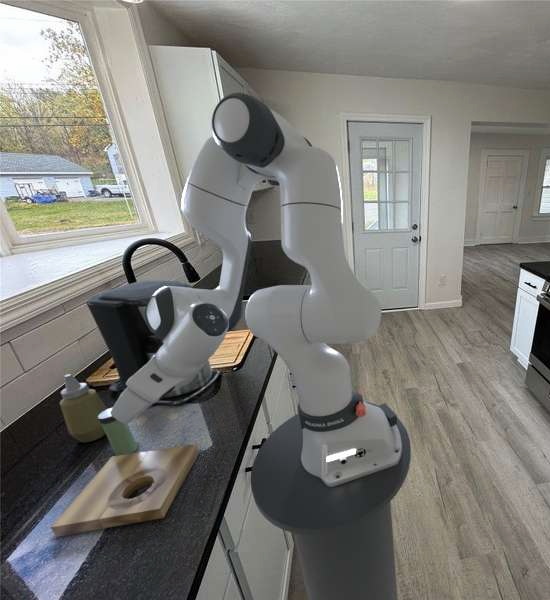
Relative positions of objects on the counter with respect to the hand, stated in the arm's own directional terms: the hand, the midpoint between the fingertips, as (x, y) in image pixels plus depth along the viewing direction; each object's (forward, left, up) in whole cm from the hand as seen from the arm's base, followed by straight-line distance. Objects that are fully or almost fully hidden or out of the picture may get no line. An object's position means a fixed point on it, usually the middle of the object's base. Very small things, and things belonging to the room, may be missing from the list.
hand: (149, 401), depth 71 cm
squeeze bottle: (+22, -9, -14) cm, 27 cm away
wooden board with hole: (+1, +11, -14) cm, 18 cm away
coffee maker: (+13, -31, -14) cm, 36 cm away
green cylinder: (+10, -1, -14) cm, 17 cm away
